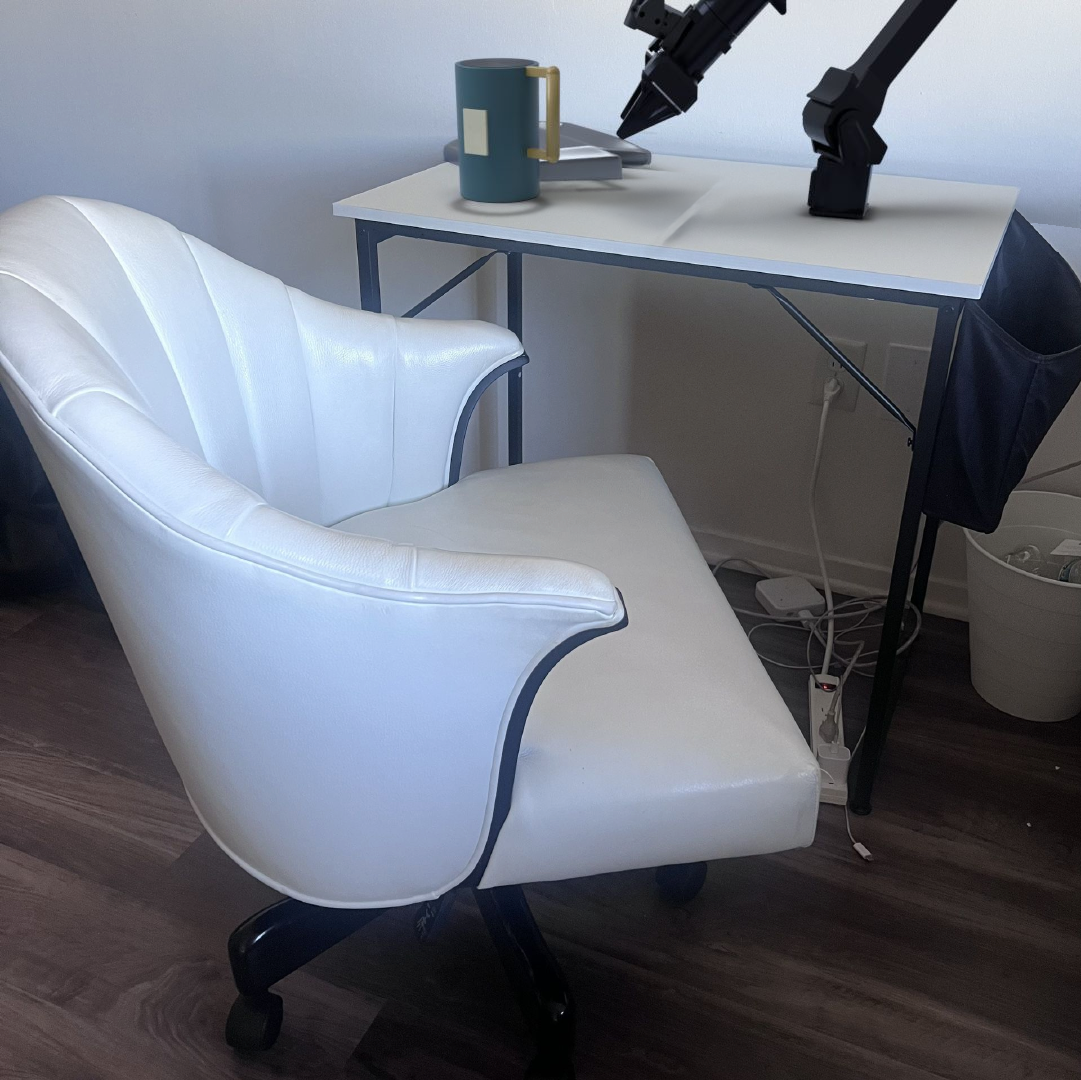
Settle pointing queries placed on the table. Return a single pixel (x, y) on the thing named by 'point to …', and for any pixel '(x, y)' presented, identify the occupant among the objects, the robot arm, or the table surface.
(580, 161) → the emblem
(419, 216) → the table surface
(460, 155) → the teal coffee mug
